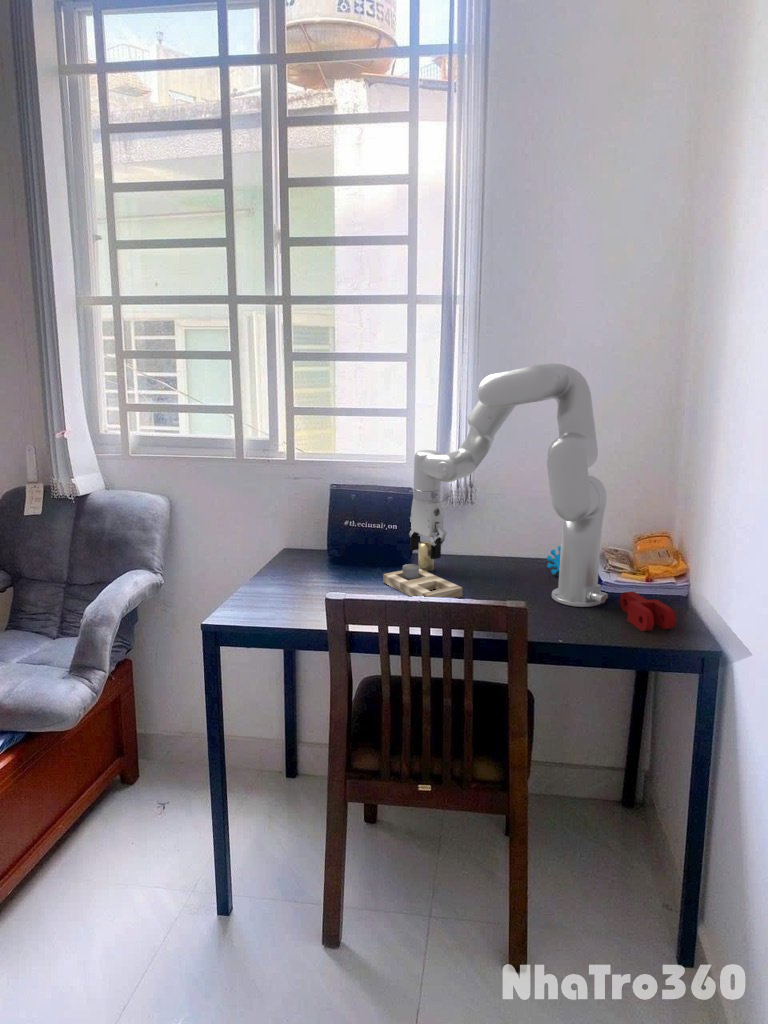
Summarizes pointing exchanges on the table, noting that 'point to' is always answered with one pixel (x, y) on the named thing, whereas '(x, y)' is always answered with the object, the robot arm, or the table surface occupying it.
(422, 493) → the robot arm
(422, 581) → the jig
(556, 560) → the gear
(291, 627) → the table surface
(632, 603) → the mechanical linkage
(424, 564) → the gold metallic cylinder
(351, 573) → the table surface
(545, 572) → the table surface
